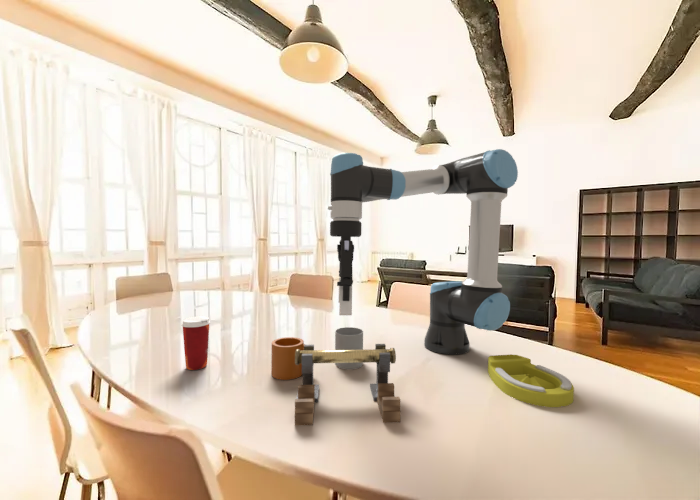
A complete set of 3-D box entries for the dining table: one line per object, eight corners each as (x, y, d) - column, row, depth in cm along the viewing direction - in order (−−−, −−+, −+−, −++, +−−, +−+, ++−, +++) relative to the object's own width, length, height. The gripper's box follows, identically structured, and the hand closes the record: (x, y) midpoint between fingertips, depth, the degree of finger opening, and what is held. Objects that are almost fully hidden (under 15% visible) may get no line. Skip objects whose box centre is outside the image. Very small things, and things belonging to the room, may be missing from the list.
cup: (360, 370, 92) (360, 336, 91) (332, 368, 93) (332, 334, 93) (364, 359, 100) (364, 328, 100) (339, 357, 102) (339, 326, 101)
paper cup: (216, 363, 96) (216, 317, 95) (194, 373, 89) (193, 323, 88) (198, 359, 99) (197, 314, 98) (175, 368, 92) (174, 320, 91)
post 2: (389, 386, 82) (389, 343, 81) (395, 401, 75) (395, 354, 74) (369, 387, 82) (370, 343, 81) (373, 401, 74) (374, 354, 74)
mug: (302, 385, 82) (302, 350, 82) (264, 376, 87) (264, 344, 87) (319, 371, 91) (319, 340, 90) (283, 364, 95) (283, 335, 95)
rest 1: (314, 405, 73) (314, 384, 72) (312, 425, 65) (312, 402, 64) (298, 405, 72) (298, 384, 72) (294, 426, 64) (294, 402, 64)
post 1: (318, 388, 81) (319, 344, 80) (317, 403, 73) (318, 355, 73) (299, 388, 80) (299, 344, 80) (295, 403, 73) (296, 355, 73)
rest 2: (392, 403, 74) (393, 382, 73) (400, 423, 66) (400, 400, 66) (377, 403, 73) (377, 382, 73) (383, 424, 65) (383, 400, 65)
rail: (393, 360, 80) (393, 345, 80) (396, 365, 76) (396, 350, 76) (296, 361, 78) (296, 347, 78) (294, 367, 75) (294, 352, 75)
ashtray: (526, 370, 94) (527, 353, 94) (591, 407, 73) (592, 386, 73) (475, 373, 91) (475, 356, 91) (527, 413, 71) (528, 391, 70)
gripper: (330, 222, 89) (329, 298, 89) (329, 216, 64) (328, 321, 64) (357, 223, 89) (356, 298, 90) (366, 217, 64) (364, 321, 65)
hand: (344, 308), depth 77 cm, fingers open, 13 cm apart
